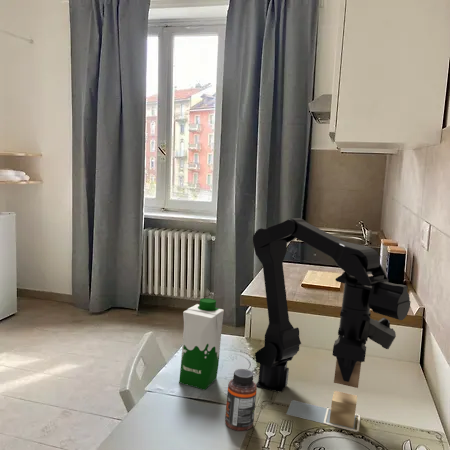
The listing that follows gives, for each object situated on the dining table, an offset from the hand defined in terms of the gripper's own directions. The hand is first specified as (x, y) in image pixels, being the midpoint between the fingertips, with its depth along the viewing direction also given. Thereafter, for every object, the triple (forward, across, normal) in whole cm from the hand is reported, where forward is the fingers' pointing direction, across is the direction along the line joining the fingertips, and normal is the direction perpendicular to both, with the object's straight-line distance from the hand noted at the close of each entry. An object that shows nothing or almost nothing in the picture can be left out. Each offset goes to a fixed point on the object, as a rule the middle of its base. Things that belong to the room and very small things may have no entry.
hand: (347, 376), depth 99 cm
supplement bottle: (+10, -12, +20) cm, 25 cm away
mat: (+10, 0, +4) cm, 11 cm away
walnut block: (+1, 0, 0) cm, 1 cm away
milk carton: (+10, +2, +35) cm, 37 cm away
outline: (+10, 0, 0) cm, 10 cm away
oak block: (+10, 0, 0) cm, 10 cm away
